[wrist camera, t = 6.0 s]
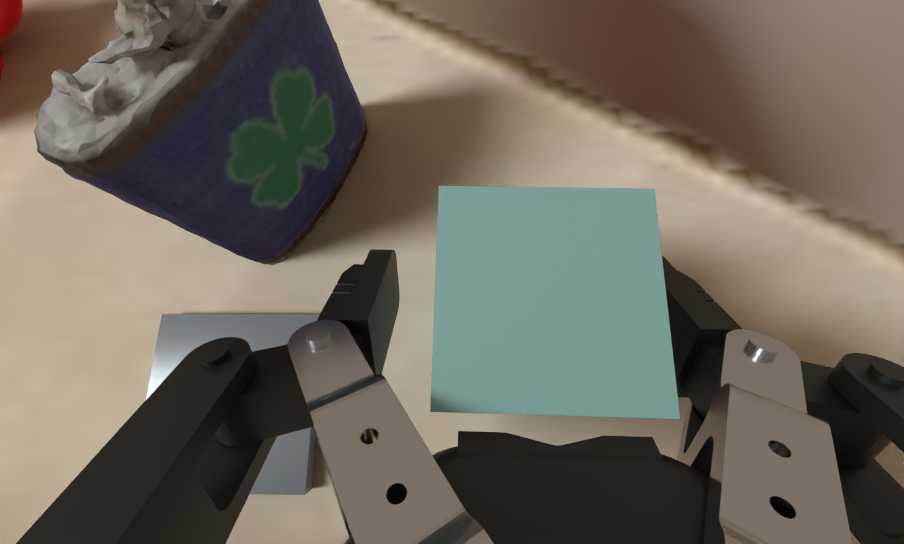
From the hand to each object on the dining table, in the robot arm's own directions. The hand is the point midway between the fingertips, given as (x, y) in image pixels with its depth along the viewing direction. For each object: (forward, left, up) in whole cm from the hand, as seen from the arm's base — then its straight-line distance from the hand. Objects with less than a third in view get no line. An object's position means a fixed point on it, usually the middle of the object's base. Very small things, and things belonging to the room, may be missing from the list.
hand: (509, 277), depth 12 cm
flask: (-9, +6, -5) cm, 12 cm away
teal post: (0, -1, -5) cm, 5 cm away
